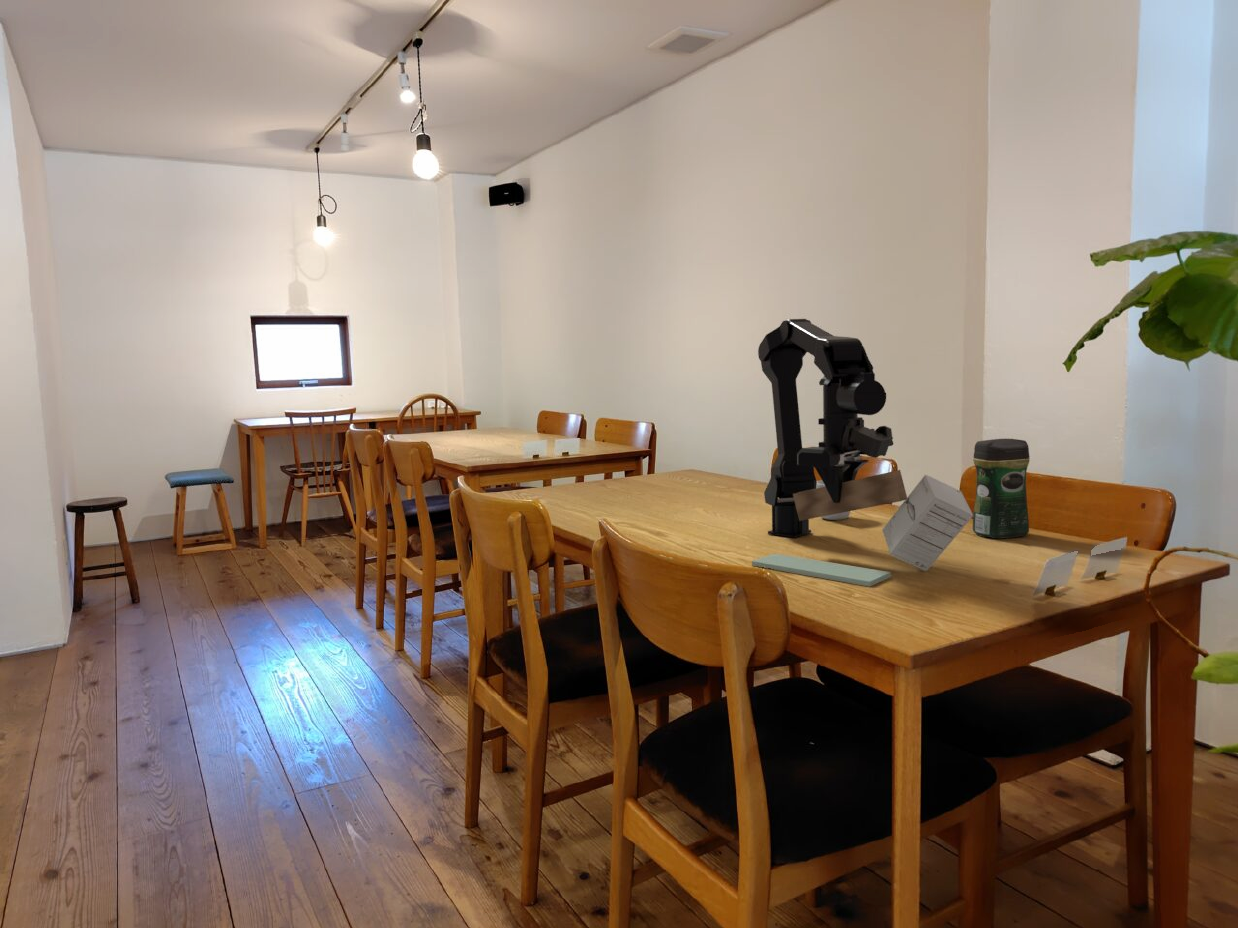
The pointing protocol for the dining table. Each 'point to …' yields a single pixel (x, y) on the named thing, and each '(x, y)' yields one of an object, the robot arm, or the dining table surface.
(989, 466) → the coffee jar
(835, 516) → the cup
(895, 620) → the dining table surface
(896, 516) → the supplement box
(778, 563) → the tool mat
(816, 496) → the wooden plank
